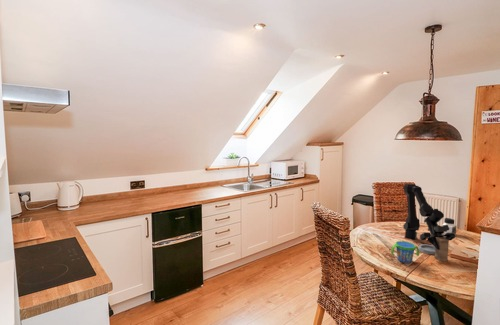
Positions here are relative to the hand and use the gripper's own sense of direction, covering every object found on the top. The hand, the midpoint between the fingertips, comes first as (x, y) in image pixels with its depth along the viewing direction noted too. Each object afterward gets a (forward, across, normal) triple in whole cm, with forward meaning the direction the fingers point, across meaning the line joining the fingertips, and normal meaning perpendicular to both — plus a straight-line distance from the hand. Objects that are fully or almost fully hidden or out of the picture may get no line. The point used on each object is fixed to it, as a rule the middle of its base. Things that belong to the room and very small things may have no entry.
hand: (443, 249), depth 165 cm
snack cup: (+5, -23, +4) cm, 24 cm away
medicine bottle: (-27, +32, +37) cm, 56 cm away
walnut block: (+4, 0, +6) cm, 7 cm away
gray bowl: (-5, 0, +14) cm, 15 cm away
